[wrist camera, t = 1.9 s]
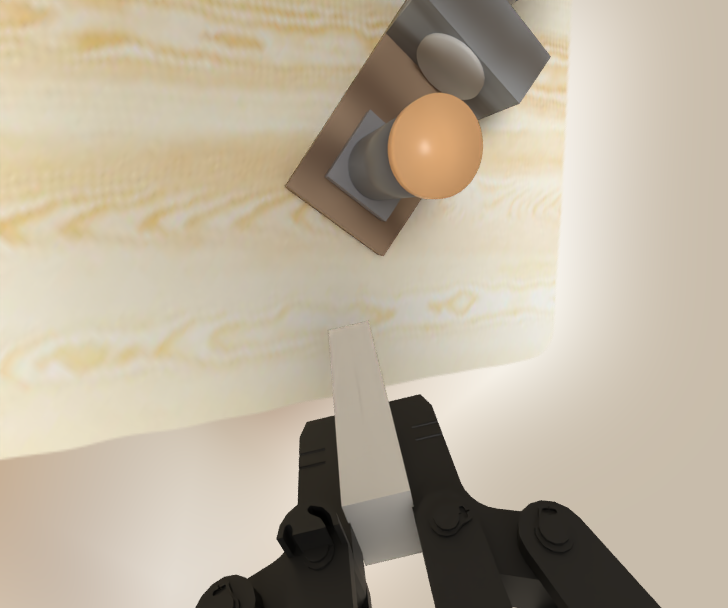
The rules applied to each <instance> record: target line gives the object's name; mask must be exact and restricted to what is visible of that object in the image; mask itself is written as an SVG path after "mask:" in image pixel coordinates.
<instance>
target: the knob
mask: <svg viewBox="0 0 728 608" xmlns="http://www.w3.org/2000/svg"><path fill="white" fill-rule="evenodd" d="M482 152H483V139H482V133H481V128H480V125H479V122H478V120H477V118H476V116H475V114H474V113H473V111H472V110H471V109H470V108H469V106H468V105H467V104H466V103H464V102H463V101H462V100H460V99H459V98H457V97H455V96H453V95H450V94H447V93H432V94H428V95H425V96H423V97H421V98H419V99H417V100H416V101H414V102H413V103H411V104H410V105H408V106H407V107H406V108H404V109H403V110H402V111H401V112H400V114H399V115H398V116H397V117H396V118H394V119H393V120H391V121H389V122H388V123H385V122H384V121H383V120H381V119H380V118H379V117H378V116H377V115H376V114H375V113H374V112H373V111H372V110H369V111H368V112H366V114H365V115H364V117H363V118H362V120H361V121H360V123H359V124H358V126H357V128H356V129H355V131H354V132H353V134H352V135H351V137H350V138H349V140H348V141H347V143H346V144H345V146H344V147H343V149H342V150H341V152H340V154H339V155H338V157H337V158H336V160H335V161H334V163H333V164H332V166H331V167H330V169H329V170H328V172H327V173H326V175H325V177H326V178H327V179H328V180H329V181H331V182H332V183H333V184H335V185H336V186H337V187H338V188H340V189H341V190H342V191H344V192H345V193H346V194H347V195H349V196H350V197H351V198H353V199H354V200H355V201H357V202H358V203H359V204H360V205H362V206H363V207H364V208H366V209H367V210H368V211H369V212H371V213H372V214H373V215H375V216H376V217H377V218H378V219H380V220H381V221H387V219H388V218H389V216H390V215H391V213H392V212H393V210H394V209H395V207H396V206H397V204H398V202H399V201H400V199H401V198H411V197H419V198H423V199H442V198H447V197H451V196H453V195H456V194H457V193H459V192H461V191H462V190H463V189H464V188H466V187H467V186H468V185H469V183H470V182H471V181H472V180H473V178H474V176H475V175H476V173H477V171H478V168H479V166H480V162H481V158H482Z"/></svg>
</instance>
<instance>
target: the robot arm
mask: <svg viewBox="0 0 728 608" xmlns="http://www.w3.org/2000/svg"><path fill="white" fill-rule="evenodd" d="M328 332H329V346H330V359H331V372H332V386H333V399H334V412H335V415H334V416H330V417H326V418H322V419H317V420H313V421H310V422H307V423H306V425H305V427H304V429H303V431H302V434H301V436H300V446H299V447H300V448H299V455H300V457H299V481H298V482H299V483H298V505H297V506H295V507H294V508H293V509H292V510H291V511H290V512H289V513H288V514H287V515H286V516H285V518H284V520H283V521H282V523H281V525H280V527H279V531H278V535H277V540H278V542H279V544H280V545H281V547H282V549H283V550H284V553H283V554H282V555H281V557H279V558H278V559H277V560H276V561H274V562H273V563H272V564H270V565H268V566H267V567H265V568H264V569H262V570H261V571H259V572H257V573H256V574H254V575H253V576H251V577H249V578H248V579H247V578H245V577H242V576H239V575H231V576H226V577H224V578H222V579H220V580H219V581H217V582H215V583H214V584H212V585H211V586H210V588H209V589H208V590H207V591H206V592H205V593H204V594H203V595H202V597H201V598H200V600H199V602H198V604H197V606H196V608H372V607H371V598H370V593H369V589H368V586H367V583H366V579H365V571H364V563H365V565H366V566H367V565H371V564H375V563H379V562H384V561H387V560H392V559H396V558H400V557H405V556H409V555H413V554H417V553H421V552H422V553H423V557H424V561H425V565H426V569H427V573H428V578H429V582H430V587H431V591H432V595H433V599H434V604H435V608H512V607H516V608H661V607H660V606H659V605H658V604H657V603H656V601H655V600H654V599H653V598H652V597H651V596H650V595H649V594H648V593H647V592H646V590H645V589H644V588H643V587H642V586H641V585H640V584H639V583H638V582H637V580H636V579H635V578H634V577H633V576H632V575H631V574H630V573H629V572H628V571H627V569H626V568H625V567H624V566H623V565H622V564H621V563H620V562H619V561H618V560H617V558H616V557H615V556H614V555H613V554H612V553H611V552H610V551H609V549H608V548H606V546H605V545H604V544H603V543H602V542H601V541H600V539H599V538H598V537H597V536H596V535H595V534H594V533H593V532H592V531H591V530H590V528H589V527H588V526H587V525H586V524H585V523H584V522H583V521H582V520H581V518H580V517H578V516H577V515H576V514H575V513H573V512H572V511H571V510H570V509H569V508H567V507H565V506H563V505H561V504H558V503H556V502H552V501H542V500H541V501H537V502H534V503H530V504H529V505H528V506H527V507H526V508H524V509H523V510H522V511H513V510H503V509H496V508H492V507H487V506H485V505H483V504H481V503H479V502H477V501H476V500H475V499H473V498H472V497H471V496H470V495H469V494H468V493H467V492H466V491H465V489H464V488H463V486H462V484H461V482H460V479H459V477H458V474H457V471H456V469H455V466H454V463H453V461H452V458H451V455H450V453H449V450H448V447H447V445H446V442H445V440H444V437H443V435H442V431H441V429H440V426H439V423H438V421H437V418H436V416H435V413H434V411H433V408H432V405H431V404H430V403H429V402H427V401H426V399H425V398H424V397H422V396H421V395H415V396H411V397H407V398H402V399H398V400H394V401H390V402H388V398H387V394H386V390H385V385H384V381H383V377H382V373H381V369H380V365H379V361H378V357H377V353H376V349H375V345H374V341H373V337H372V333H371V329H370V325H369V321H365V322H361V323H357V324H352V325H348V326H344V327H340V328H335V329H331V330H328ZM363 560H364V562H363Z"/></svg>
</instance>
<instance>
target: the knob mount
mask: <svg viewBox="0 0 728 608" xmlns="http://www.w3.org/2000/svg"><path fill="white" fill-rule="evenodd" d="M550 57H551V56H550V55H549V54H548V52H547V51H546V50H545V49H544V47H543V46H542V45H541V43H540V42H539V41H538V40H537V38H536V37H535V36H534V34H533V33H532V32H531V31H530V29H529V28H528V27H527V25H526V24H525V23H524V22H523V20H522V19H521V18H520V16H519V15H518V14H517V13H516V11H515V10H514V9H513V7H512V6H511V5H510V4H509V2H508V1H507V0H406V1H405V2H404V4H403V5H402V7H401V8H400V10H399V11H398V13H397V15H396V16H395V18H394V19H393V21H392V22H391V24H390V25H389V27H388V28H387V30H386V31H385V33H384V35H383V36H382V38H381V39H380V41H379V42H378V44H377V45H376V47H375V48H374V50H373V51H372V53H371V55H370V56H369V58H368V59H367V61H366V62H365V64H364V65H363V67H362V68H361V70H360V71H359V73H358V75H357V76H356V78H355V79H354V81H353V82H352V84H351V85H350V87H349V88H348V90H347V91H346V93H345V95H344V96H343V98H342V99H341V101H340V102H339V104H338V105H337V107H336V108H335V110H334V111H333V113H332V115H331V116H330V118H329V119H328V121H327V122H326V124H325V125H324V127H323V128H322V130H321V131H320V133H319V135H318V136H317V138H316V139H315V141H314V142H313V144H312V145H311V147H310V148H309V150H308V151H307V153H306V155H305V156H304V158H303V159H302V161H301V162H300V164H299V165H298V167H297V168H296V170H295V171H294V173H293V175H292V176H291V178H290V179H289V181H288V182H287V184H286V185H285V187H286V188H287V189H288V190H290V191H291V192H292V193H294V194H295V195H297V196H298V197H299V198H301V199H302V200H303V201H305V202H306V203H308V204H309V205H310V206H312V207H313V208H315V209H316V210H317V211H319V212H320V213H321V214H323V215H324V216H326V217H327V218H328V219H330V220H331V221H332V222H334V223H335V224H337V225H338V226H339V227H341V228H342V229H343V230H345V231H346V232H348V233H349V234H350V235H352V236H353V237H354V238H356V239H357V240H359V241H360V242H361V243H363V244H364V245H365V246H367V247H368V248H370V249H371V250H372V251H374V252H375V253H376V254H378V255H381V256H384V255H385V253H386V252H387V250H388V249H389V247H390V245H391V244H392V242H393V241H394V239H395V238H396V236H397V235H398V233H399V232H400V230H401V229H402V227H403V226H404V224H405V223H406V221H407V220H408V218H409V217H410V215H411V214H412V212H413V211H414V209H415V208H416V206H417V205H418V203H419V202H420V200H421V199H422V198H419V197H411V198H401V199H400V201H399V202H398V204H397V206H396V207H395V209H394V210H393V212H392V213H391V215H390V216H389V218H388V219H387V221H381V220H380V219H378V218H377V217H376V216H375V215H373V214H372V213H371V212H369V211H368V210H367V209H366V208H364V207H363V206H362V205H360V204H359V203H358V202H357V201H355V200H354V199H353V198H351V197H350V196H349V195H347V194H346V193H345V192H344V191H342V190H341V189H340V188H338V187H337V186H336V185H335V184H333V183H332V182H331V181H329V180H328V179H327V178H326V177H325V175H326V173H327V172H328V170H329V169H330V167H331V166H332V164H333V163H334V161H335V160H336V158H337V157H338V155H339V154H340V152H341V150H342V149H343V147H344V146H345V144H346V143H347V141H348V140H349V138H350V137H351V135H352V134H353V132H354V131H355V129H356V128H357V126H358V124H359V123H360V121H361V120H362V118H363V117H364V115H365V114H366V112H368V111H369V110H372V111H373V112H374V113H375V114H376V115H377V116H378V117H379V118H380V119H381V120H383V121H384V122H385V123H388V122H389V121H391V120H393V119H394V118H396V117H397V116H398V115H399V114H400V112H401V111H402V110H403V109H404V108H406V107H407V106H408V105H410V104H411V103H413V102H414V101H416V100H417V99H419V98H421V97H423V96H425V95H428V94H432V93H447V94H450V95H453V96H455V97H457V98H459V99H460V100H462V101H463V102H464V103H466V104H467V105H468V106H469V108H470V109H471V110H472V111H473V113H474V114H475V116H476V118H477V120H479V119H481V118H484V117H487V116H489V115H492V114H494V113H497V112H499V111H502V110H504V109H507V108H510V107H512V106H515V105H517V104H520V102H521V101H522V99H523V98H524V96H525V95H526V93H527V92H528V90H529V89H530V87H531V86H532V84H533V83H534V81H535V80H536V78H537V77H538V75H539V74H540V72H541V71H542V69H543V68H544V66H545V65H546V63H547V62H548V60H549V59H550Z"/></svg>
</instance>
